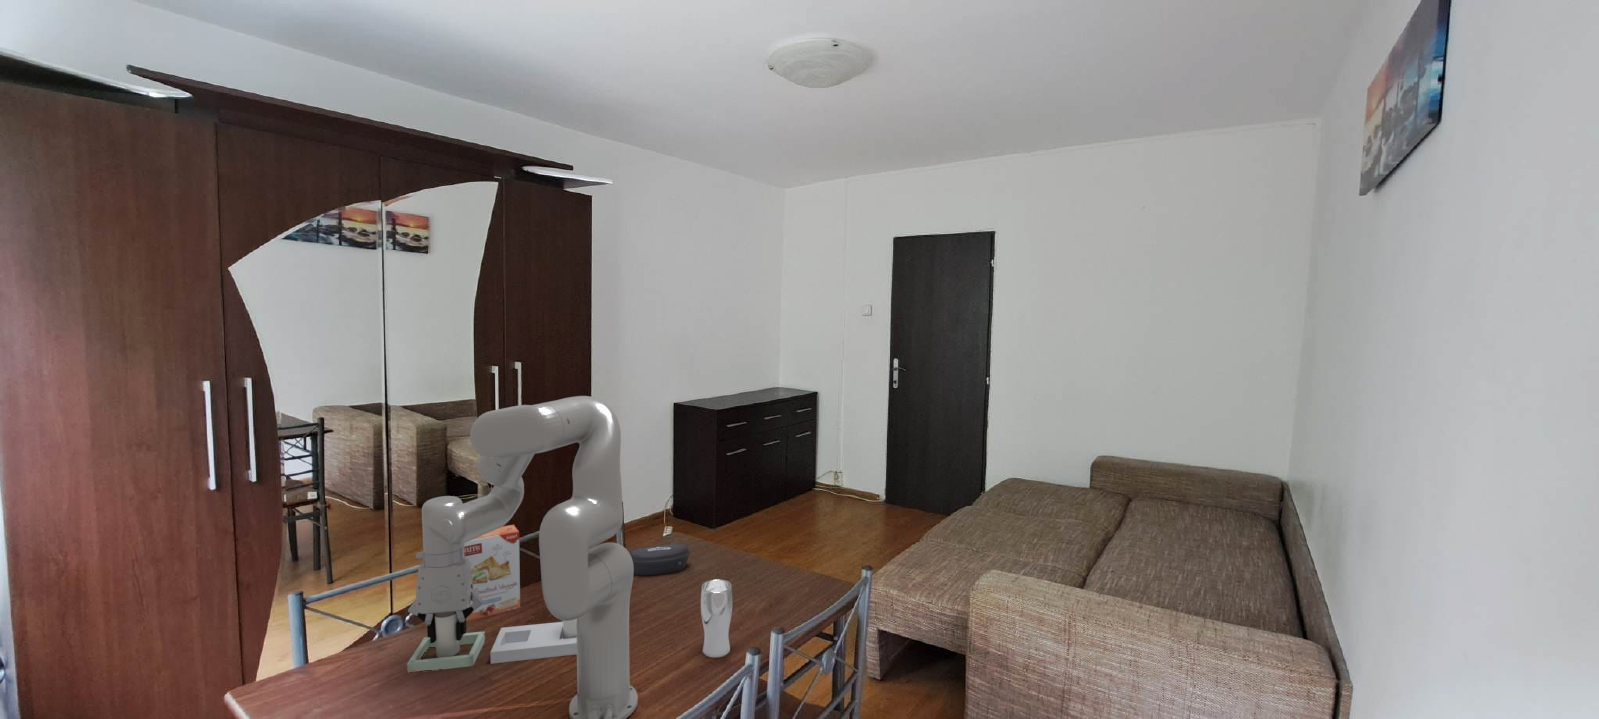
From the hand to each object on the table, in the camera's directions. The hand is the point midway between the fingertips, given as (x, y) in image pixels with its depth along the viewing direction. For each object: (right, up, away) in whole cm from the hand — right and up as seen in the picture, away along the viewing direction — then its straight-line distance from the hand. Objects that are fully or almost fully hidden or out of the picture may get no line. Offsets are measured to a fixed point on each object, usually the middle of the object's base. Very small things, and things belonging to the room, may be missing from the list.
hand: (447, 637), depth 133 cm
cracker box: (-1, -3, +20) cm, 20 cm away
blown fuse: (0, -3, 0) cm, 3 cm away
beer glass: (+57, -6, +6) cm, 57 cm away
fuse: (+25, -4, +6) cm, 26 cm away
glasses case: (+35, -2, +47) cm, 58 cm away
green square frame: (0, -5, 0) cm, 5 cm away
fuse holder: (+19, -5, +5) cm, 20 cm away
